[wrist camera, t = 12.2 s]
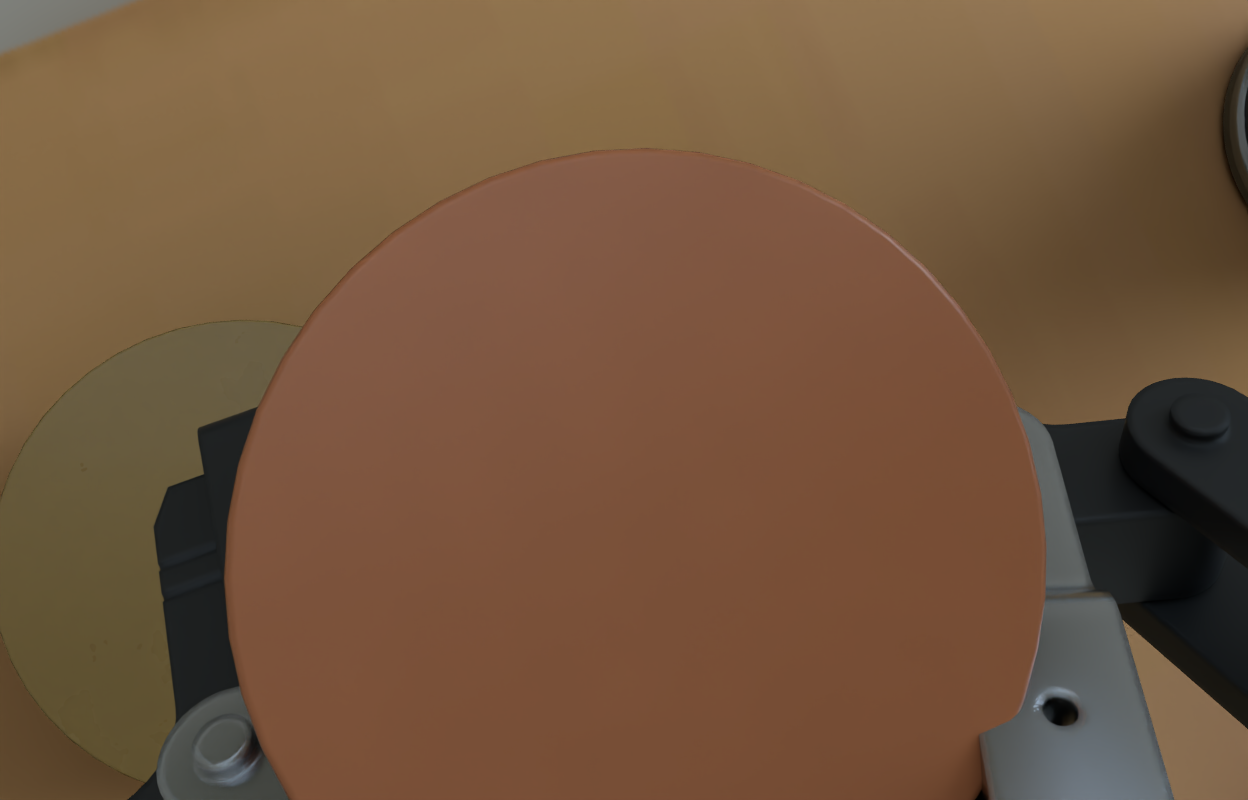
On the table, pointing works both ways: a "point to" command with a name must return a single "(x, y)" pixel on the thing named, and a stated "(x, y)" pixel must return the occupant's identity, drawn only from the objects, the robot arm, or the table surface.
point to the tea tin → (635, 505)
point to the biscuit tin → (115, 530)
